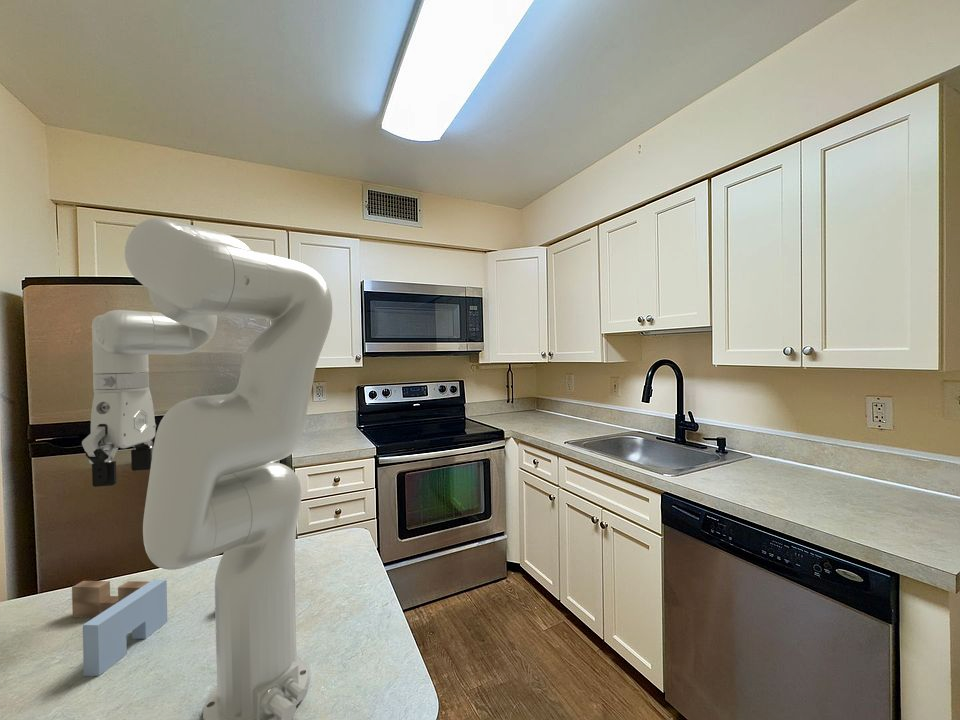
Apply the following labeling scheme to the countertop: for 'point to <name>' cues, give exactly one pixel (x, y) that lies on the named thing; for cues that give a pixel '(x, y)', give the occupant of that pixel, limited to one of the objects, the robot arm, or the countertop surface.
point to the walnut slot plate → (99, 596)
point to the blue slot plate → (123, 626)
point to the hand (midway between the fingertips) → (124, 477)
